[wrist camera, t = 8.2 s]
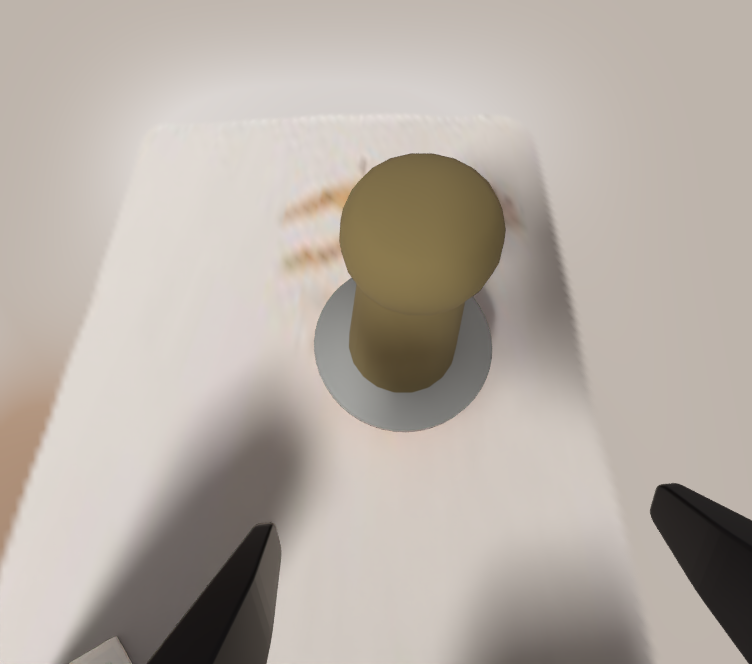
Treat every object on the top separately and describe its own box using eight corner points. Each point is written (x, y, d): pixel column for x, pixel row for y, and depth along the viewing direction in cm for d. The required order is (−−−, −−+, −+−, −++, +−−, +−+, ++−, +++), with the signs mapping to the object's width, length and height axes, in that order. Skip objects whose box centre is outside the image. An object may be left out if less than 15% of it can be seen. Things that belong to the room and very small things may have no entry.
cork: (342, 300, 21) (310, 131, 11) (442, 287, 21) (501, 111, 11) (355, 400, 19) (329, 306, 9) (467, 384, 19) (569, 274, 9)
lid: (489, 441, 19) (494, 439, 18) (302, 422, 19) (299, 419, 18) (486, 277, 23) (489, 270, 22) (330, 264, 23) (328, 257, 22)
